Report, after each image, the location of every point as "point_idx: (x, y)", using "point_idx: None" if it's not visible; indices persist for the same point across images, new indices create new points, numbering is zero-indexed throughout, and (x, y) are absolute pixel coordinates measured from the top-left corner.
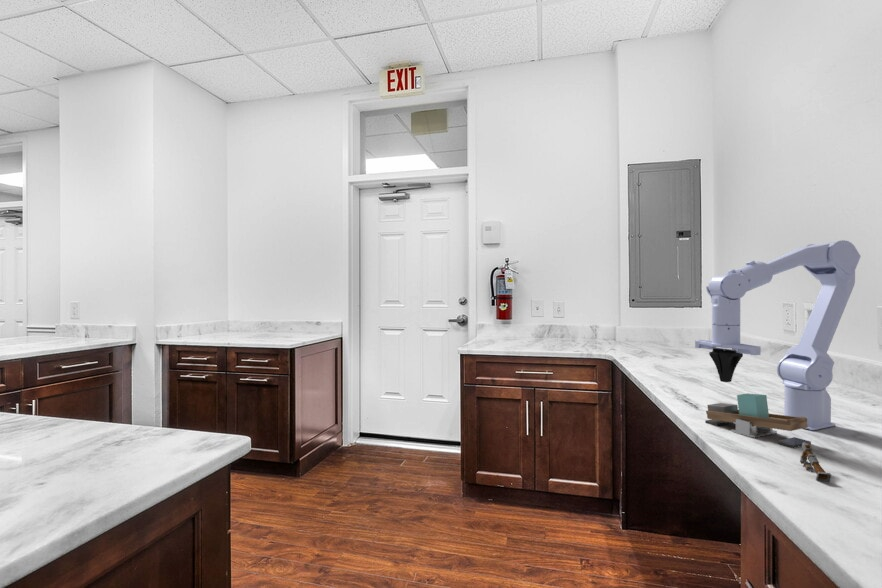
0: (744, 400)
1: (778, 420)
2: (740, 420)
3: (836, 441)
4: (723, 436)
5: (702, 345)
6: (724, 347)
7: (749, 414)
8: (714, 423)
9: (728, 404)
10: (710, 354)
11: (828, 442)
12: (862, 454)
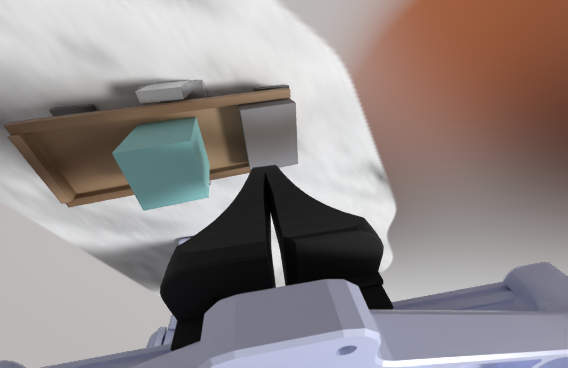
0: (164, 138)
1: (40, 120)
2: (165, 88)
3: (116, 226)
4: (162, 4)
5: (510, 310)
6: (190, 345)
7: (160, 124)
8: (261, 88)
9: (266, 158)
10: (355, 222)
11: (109, 210)
12: (28, 203)
